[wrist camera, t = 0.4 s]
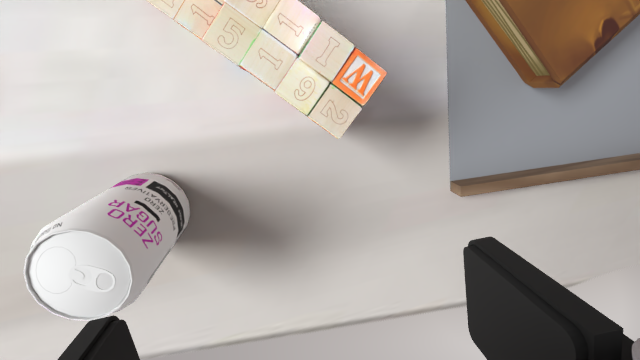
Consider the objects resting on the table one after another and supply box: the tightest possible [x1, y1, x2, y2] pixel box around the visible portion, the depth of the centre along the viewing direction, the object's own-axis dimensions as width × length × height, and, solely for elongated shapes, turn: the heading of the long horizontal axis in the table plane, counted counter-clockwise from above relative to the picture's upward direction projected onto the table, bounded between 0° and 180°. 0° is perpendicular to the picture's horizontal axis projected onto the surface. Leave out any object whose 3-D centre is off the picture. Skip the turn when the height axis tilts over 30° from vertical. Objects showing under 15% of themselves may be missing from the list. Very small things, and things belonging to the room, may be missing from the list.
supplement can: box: [23, 173, 190, 321], centre depth 32 cm, size 8×8×15 cm
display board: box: [446, 0, 640, 197], centre depth 37 cm, size 38×26×3 cm
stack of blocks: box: [146, 0, 387, 139], centre depth 30 cm, size 21×6×12 cm, turn 54°
